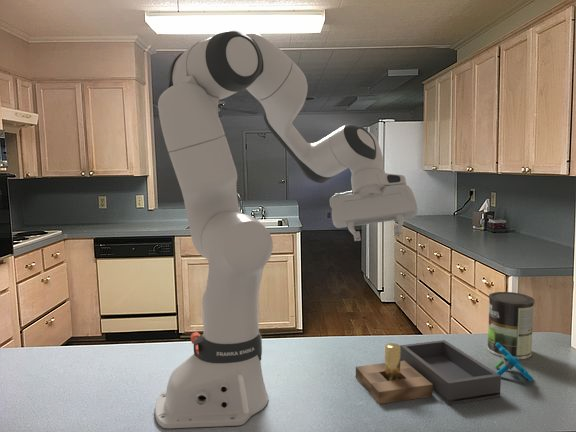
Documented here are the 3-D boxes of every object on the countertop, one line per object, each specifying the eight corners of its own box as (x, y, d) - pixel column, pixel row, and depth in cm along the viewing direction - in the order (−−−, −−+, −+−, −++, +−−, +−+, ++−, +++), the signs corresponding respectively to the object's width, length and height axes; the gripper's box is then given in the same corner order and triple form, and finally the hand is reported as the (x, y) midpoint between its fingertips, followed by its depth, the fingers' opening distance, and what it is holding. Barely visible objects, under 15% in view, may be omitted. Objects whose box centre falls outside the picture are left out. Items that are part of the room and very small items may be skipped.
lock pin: (389, 390, 96) (389, 349, 95) (382, 383, 99) (382, 344, 98) (402, 388, 96) (403, 348, 95) (395, 382, 99) (396, 342, 98)
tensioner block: (378, 403, 90) (378, 392, 90) (355, 377, 102) (355, 366, 102) (432, 395, 93) (432, 384, 93) (404, 370, 105) (404, 360, 104)
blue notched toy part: (540, 383, 94) (504, 346, 96) (518, 401, 95) (482, 364, 97) (528, 368, 105) (495, 334, 107) (508, 384, 106) (476, 351, 108)
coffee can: (494, 358, 110) (496, 302, 109) (482, 342, 121) (483, 291, 119) (539, 360, 109) (541, 303, 108) (523, 344, 119) (525, 292, 118)
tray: (448, 404, 89) (448, 383, 89) (399, 363, 109) (400, 345, 108) (500, 396, 92) (500, 375, 92) (444, 357, 112) (444, 340, 111)
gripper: (326, 188, 112) (331, 236, 104) (411, 174, 108) (422, 224, 101) (330, 201, 117) (335, 249, 110) (411, 189, 113) (421, 237, 106)
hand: (377, 237), depth 105 cm, fingers open, 8 cm apart
